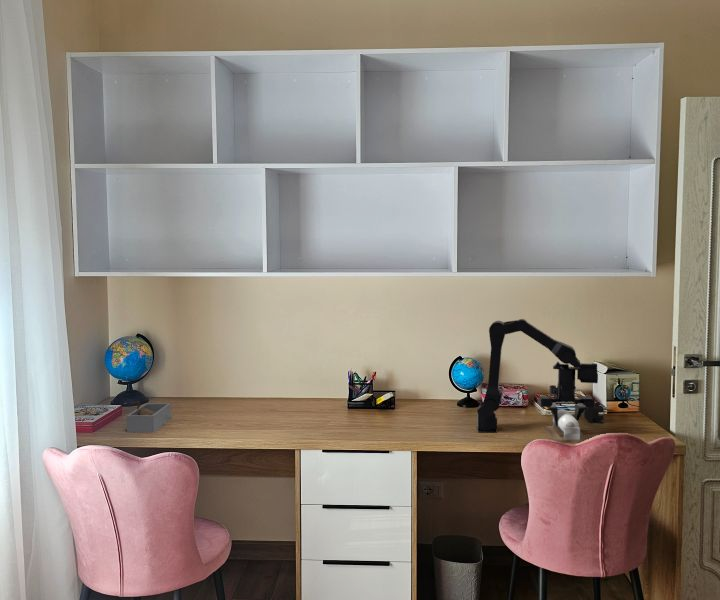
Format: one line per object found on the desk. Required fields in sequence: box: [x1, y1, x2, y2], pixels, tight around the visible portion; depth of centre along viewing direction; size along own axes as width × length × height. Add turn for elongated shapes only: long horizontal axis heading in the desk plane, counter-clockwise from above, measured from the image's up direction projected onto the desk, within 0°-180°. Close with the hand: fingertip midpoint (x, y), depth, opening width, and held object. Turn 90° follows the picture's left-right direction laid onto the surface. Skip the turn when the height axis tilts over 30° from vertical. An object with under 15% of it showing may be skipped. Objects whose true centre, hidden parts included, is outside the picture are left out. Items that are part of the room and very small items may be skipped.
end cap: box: [582, 401, 605, 424], centre depth 269 cm, size 10×7×7 cm
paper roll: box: [552, 408, 580, 432], centre depth 247 cm, size 6×12×6 cm, turn 177°
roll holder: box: [544, 418, 588, 444], centre depth 247 cm, size 11×18×5 cm, turn 177°
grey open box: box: [128, 400, 165, 426], centre depth 264 cm, size 14×4×9 cm, turn 75°
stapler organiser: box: [125, 402, 172, 433], centre depth 264 cm, size 10×20×6 cm, turn 177°
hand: (565, 425), depth 247 cm, fingers closed on paper roll, 6 cm apart
